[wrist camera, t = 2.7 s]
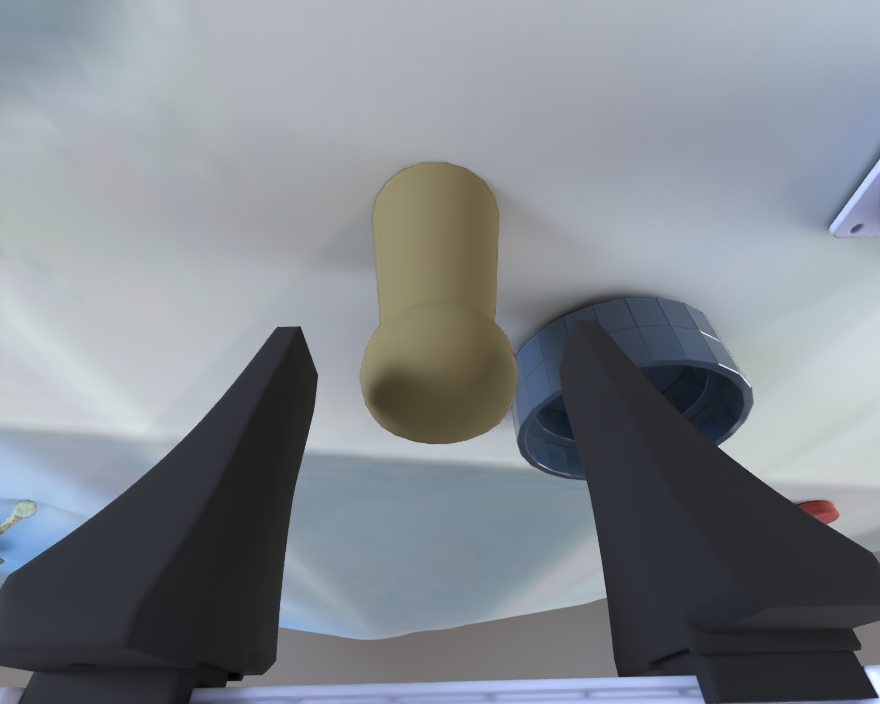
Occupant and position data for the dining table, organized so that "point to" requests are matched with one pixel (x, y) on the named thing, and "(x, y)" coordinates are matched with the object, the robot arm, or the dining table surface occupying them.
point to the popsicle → (821, 511)
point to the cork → (437, 309)
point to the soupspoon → (18, 516)
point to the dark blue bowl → (653, 352)
